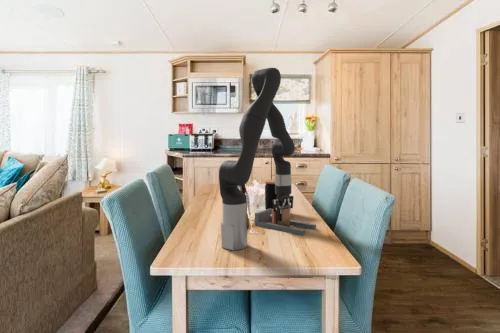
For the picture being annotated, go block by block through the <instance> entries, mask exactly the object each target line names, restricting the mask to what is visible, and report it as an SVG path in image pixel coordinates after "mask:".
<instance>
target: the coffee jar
mask: <svg viewBox="0 0 500 333" xmlns="http://www.w3.org/2000/svg"><path fill="white" fill-rule="evenodd" d="M264 183H265V185H264V200H265V201H264V204H265V205H264V207H265V208H264V210H265V209H269V208H271V209H273V200H276V199H277V194H275V179H267V180H264Z"/></svg>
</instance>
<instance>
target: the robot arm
mask: <svg viewBox="0 0 500 333" xmlns="http://www.w3.org/2000/svg"><path fill="white" fill-rule="evenodd" d="M281 79H282V75H281V73H280V70H279V69H278V68H276V67H268V68H262V69H261V68H260V69H257V70H255V71H253V73H252V75H251V85H252V87H253V89H254V92H255V95H256V99H255V100H254V101H252V103H251V104H250V105H249V106H248V108H246V110H245V112H244V114H243V116H242V118H241V122H240V124H239V128H238V132H239V137H240V143H241V150H240V153H239V157H238V159H237V160H229V159H227V160H224V161H223V162H222V163H221V164H220V166H219V170H218V181H219V182H218V183H219V184H218V185H219V195H220V198H221V200H222V223H220V230H221V232H220V233H221V237H220V238H221V248H222V249H226V250H229V251H238V250H243V249H246V248H247V247H248V220H247V219H248V216H247V215H248V214H247V211H248V210H247V208H248V207H247V195H246V194H245V193H244V192H243V191H241V190H240V188H239V186H240V187H241V186H245V185H247V183H248V182H249V180H250V178H251V175H252V171H253V166H254V162H255V156H256V153H257V148H258V146H259V144H260V139H261V136H262V134H263V131H264V128H265V125H266V121H267V123H268V127H269V131H270V135H271V137H272V138H275V139H278V140H275V141H273V142H272V145H271V153H272V158H273V161H274V165H275V167H274V168H275V178H274V180H275V194H277V199H276V200H273V211H274V212H276V213H277V221H282V209H283V207H284V206H285V205H287V204H288V205H290V211H291V210H292V209H293V207H294V195H291V194H292V170H291V168H292V165H291V162H290V161H287V160H285V159H284V157H290V156H292V155H294V152H295V149H296V147H295V143H294V141H293V139H292V137H291V136H290V134H289V131H287V127H286V123H285V119H284V117H283V115H282V113H281V111H280V110H279V108H278V107H277V106H276V105H275V104H274V103H273V102H274V100H275V97H276V95H277V93H278V91H279V88H280V85H281V81H282V80H281ZM283 156H284V157H283ZM279 205H280V206H279ZM276 208H277V209H276ZM279 208H280V211H279Z"/></svg>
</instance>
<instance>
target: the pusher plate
mask: <svg viewBox="0 0 500 333" xmlns="http://www.w3.org/2000/svg"><path fill="white" fill-rule="evenodd" d="M276 209H277V208H276ZM271 217H272V222H271V223H273V224H277V213H276V212H274V211H273V209H272V214H271Z"/></svg>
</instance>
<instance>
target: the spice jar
mask: <svg viewBox="0 0 500 333" xmlns="http://www.w3.org/2000/svg"><path fill="white" fill-rule="evenodd" d="M279 206H280V205H279ZM290 206H291V204H290V205H288V204H287V205H285V206H284V207H283V209H282V221H277V224H278V225H283V226H288V227H291V225H290V220H291V210H290ZM279 211H280V208H279Z"/></svg>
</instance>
